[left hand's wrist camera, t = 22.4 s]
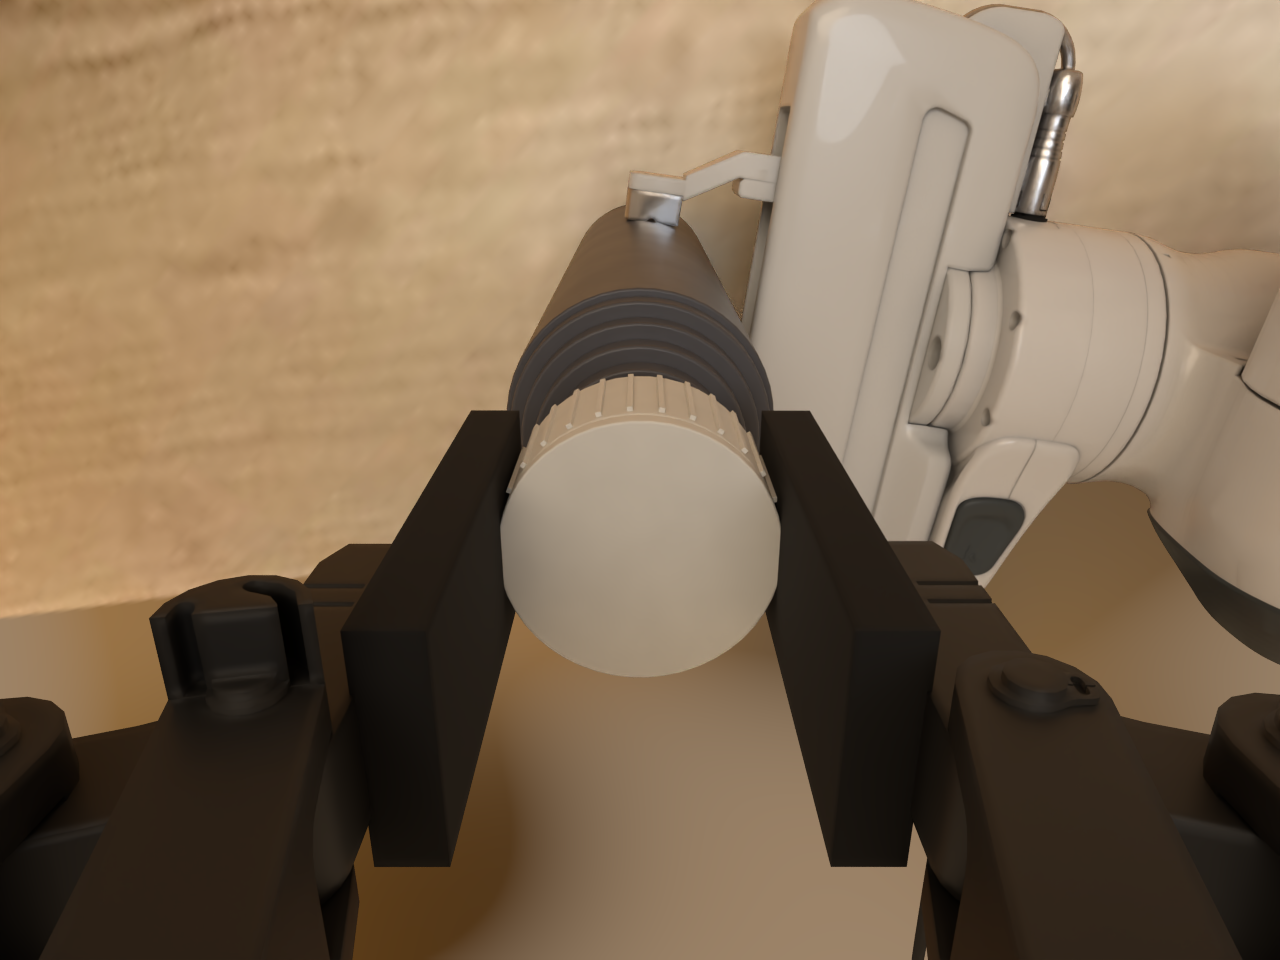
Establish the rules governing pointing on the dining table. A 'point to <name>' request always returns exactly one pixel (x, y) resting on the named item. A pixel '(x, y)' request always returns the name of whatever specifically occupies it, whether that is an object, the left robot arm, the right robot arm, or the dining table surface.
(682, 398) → the cap
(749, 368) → the bottle
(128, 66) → the dining table surface
